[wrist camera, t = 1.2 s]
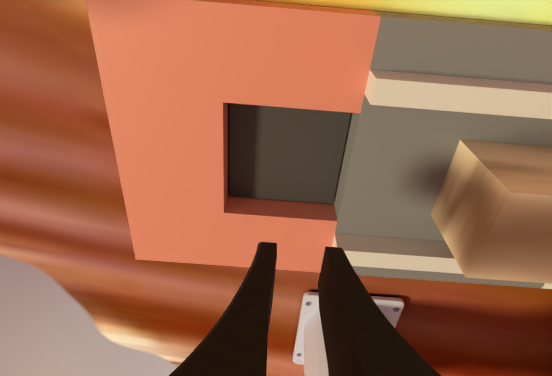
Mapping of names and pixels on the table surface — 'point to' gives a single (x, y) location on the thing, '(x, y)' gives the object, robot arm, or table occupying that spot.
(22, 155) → the table surface
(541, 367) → the table surface
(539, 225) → the maple block
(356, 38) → the chute board
